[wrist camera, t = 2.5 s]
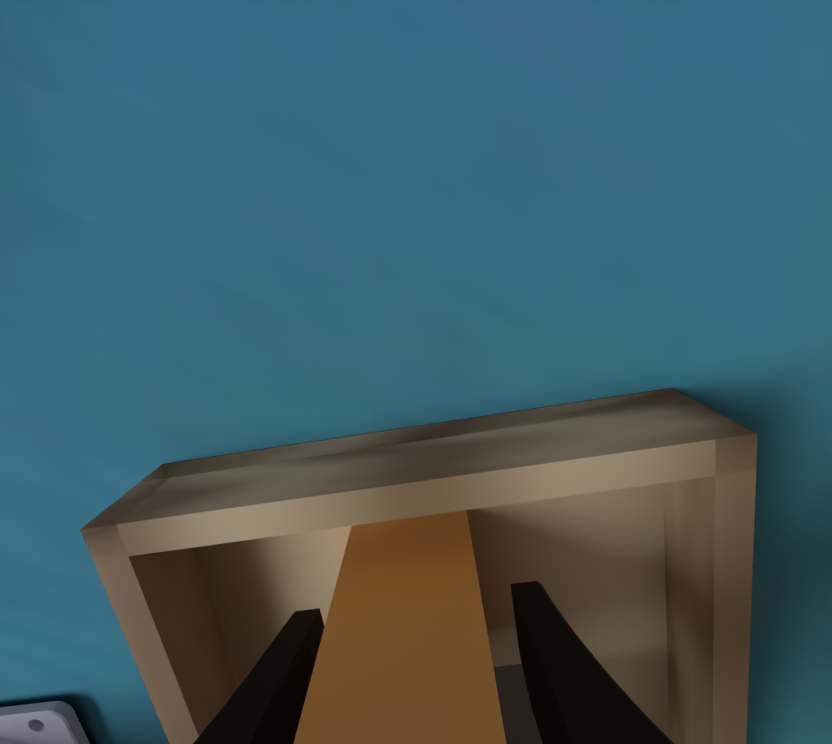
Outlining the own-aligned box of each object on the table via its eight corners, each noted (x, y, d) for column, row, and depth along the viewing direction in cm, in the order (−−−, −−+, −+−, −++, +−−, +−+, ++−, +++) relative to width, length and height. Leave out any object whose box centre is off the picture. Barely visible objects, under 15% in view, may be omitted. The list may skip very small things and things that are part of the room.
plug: (380, 643, 12) (318, 1208, 5) (352, 522, 11) (223, 1007, 4) (485, 631, 12) (578, 1198, 5) (465, 506, 11) (547, 984, 4)
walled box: (295, 851, 16) (267, 980, 13) (162, 464, 12) (80, 529, 9) (679, 815, 15) (739, 945, 12) (672, 388, 11) (757, 433, 8)
